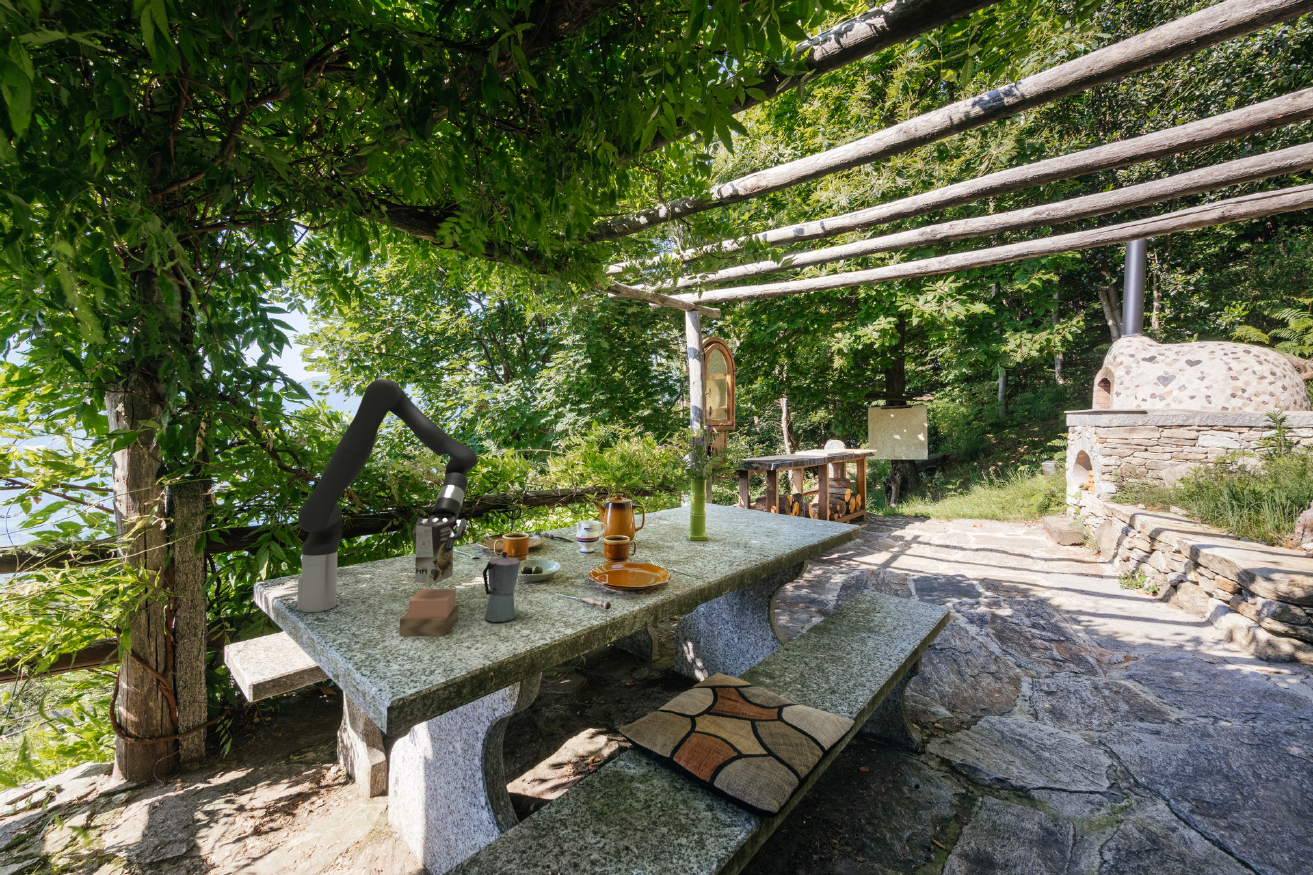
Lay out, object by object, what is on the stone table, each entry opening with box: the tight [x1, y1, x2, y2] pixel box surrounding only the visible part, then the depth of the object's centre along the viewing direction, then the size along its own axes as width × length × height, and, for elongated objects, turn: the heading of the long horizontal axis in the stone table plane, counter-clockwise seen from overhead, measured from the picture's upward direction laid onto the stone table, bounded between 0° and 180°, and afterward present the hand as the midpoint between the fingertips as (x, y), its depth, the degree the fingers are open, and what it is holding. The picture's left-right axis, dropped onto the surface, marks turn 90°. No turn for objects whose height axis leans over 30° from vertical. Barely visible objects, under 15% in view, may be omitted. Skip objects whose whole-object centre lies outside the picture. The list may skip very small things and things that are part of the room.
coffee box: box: [414, 521, 455, 585], centre depth 148 cm, size 9×6×16 cm
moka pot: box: [482, 551, 521, 623], centre depth 157 cm, size 10×15×20 cm, turn 161°
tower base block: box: [398, 604, 460, 637], centre depth 148 cm, size 12×12×5 cm
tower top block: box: [408, 588, 457, 619], centre depth 148 cm, size 10×10×5 cm
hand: (432, 550), depth 147 cm, fingers closed on coffee box, 7 cm apart
